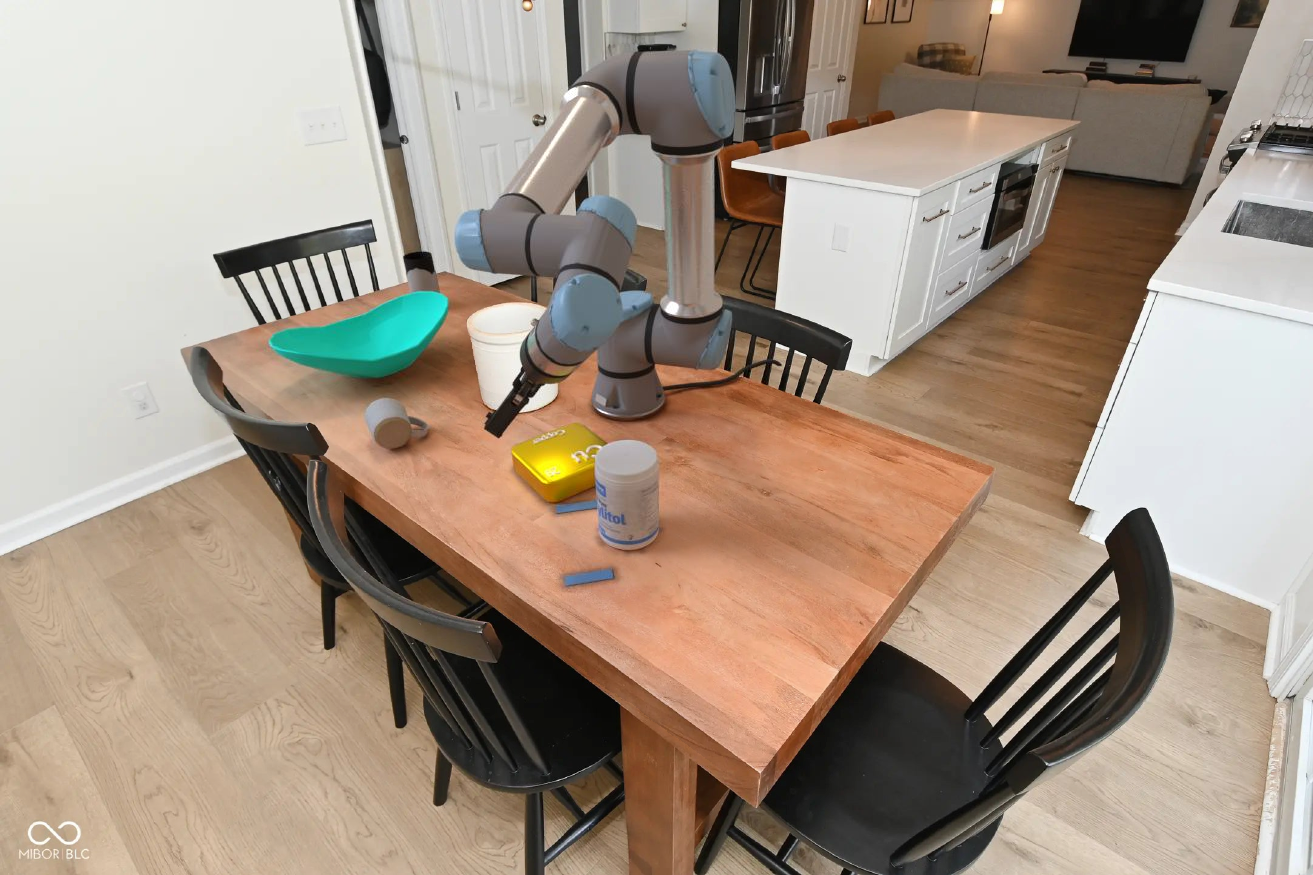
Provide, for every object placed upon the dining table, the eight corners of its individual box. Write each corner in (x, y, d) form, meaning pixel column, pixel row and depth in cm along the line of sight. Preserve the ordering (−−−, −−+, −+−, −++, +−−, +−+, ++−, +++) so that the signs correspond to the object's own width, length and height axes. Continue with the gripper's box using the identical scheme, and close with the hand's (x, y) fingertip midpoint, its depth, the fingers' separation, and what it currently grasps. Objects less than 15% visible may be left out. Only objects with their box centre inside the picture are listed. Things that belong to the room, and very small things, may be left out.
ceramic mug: (378, 456, 128) (368, 421, 124) (369, 436, 134) (360, 402, 130) (434, 440, 133) (427, 406, 128) (423, 422, 139) (416, 388, 134)
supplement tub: (587, 541, 106) (580, 464, 98) (618, 507, 113) (613, 432, 105) (642, 560, 102) (638, 481, 94) (670, 523, 109) (669, 447, 101)
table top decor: (316, 424, 139) (296, 366, 131) (268, 381, 155) (248, 327, 148) (483, 361, 162) (474, 308, 155) (426, 329, 179) (415, 280, 171)
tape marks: (597, 500, 115) (597, 500, 115) (613, 578, 99) (613, 577, 99) (555, 506, 114) (555, 505, 114) (565, 586, 98) (565, 585, 98)
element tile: (580, 438, 132) (578, 417, 129) (624, 474, 121) (622, 451, 119) (510, 466, 124) (506, 444, 122) (550, 506, 114) (547, 483, 111)
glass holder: (409, 315, 187) (396, 261, 179) (420, 296, 199) (409, 245, 191) (441, 313, 188) (430, 259, 180) (450, 295, 200) (440, 244, 192)
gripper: (578, 262, 91) (538, 318, 110) (475, 408, 81) (450, 443, 100) (623, 296, 93) (576, 346, 112) (528, 443, 83) (493, 471, 102)
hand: (516, 392), depth 106 cm, fingers open, 13 cm apart
